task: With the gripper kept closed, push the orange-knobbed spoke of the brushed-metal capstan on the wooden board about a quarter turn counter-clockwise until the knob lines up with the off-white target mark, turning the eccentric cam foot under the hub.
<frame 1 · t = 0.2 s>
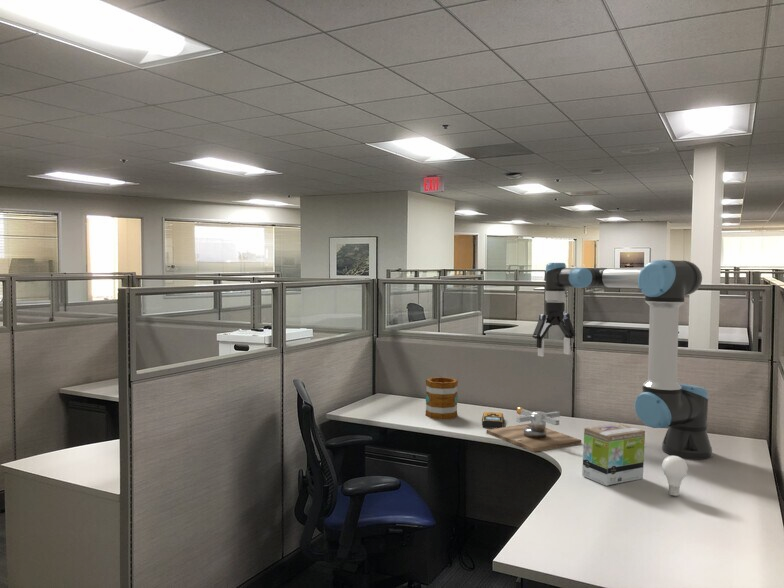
hand: (553, 355, 238), 28 cm above the table, fingers open, 13 cm apart
electronic device: (492, 424, 240), on the table
capstan: (536, 423, 217), point 6 cm above the table, hinge at 0.0°
lightbulb: (673, 496, 163), on the table
mug: (440, 414, 254), on the table
wooden board: (532, 438, 219), on the table
tea box: (612, 478, 177), on the table
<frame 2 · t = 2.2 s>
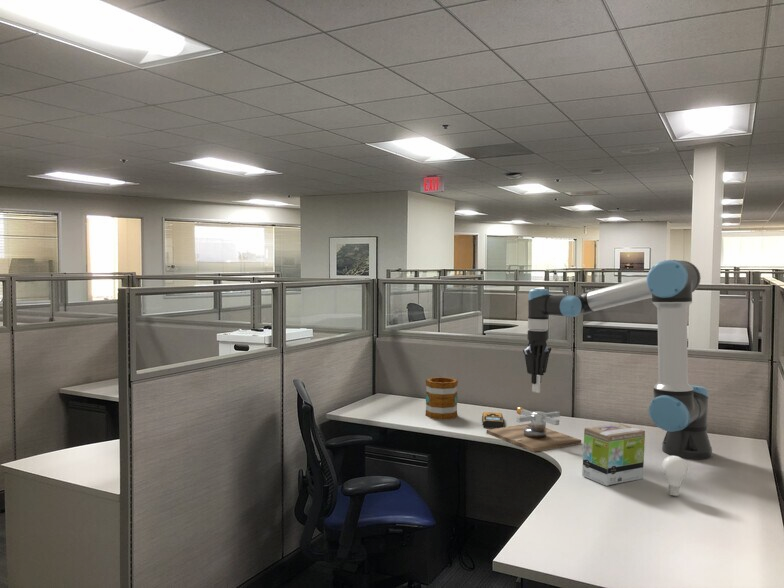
hand: (536, 391, 227), 15 cm above the table, fingers closed
nothing on the table moved.
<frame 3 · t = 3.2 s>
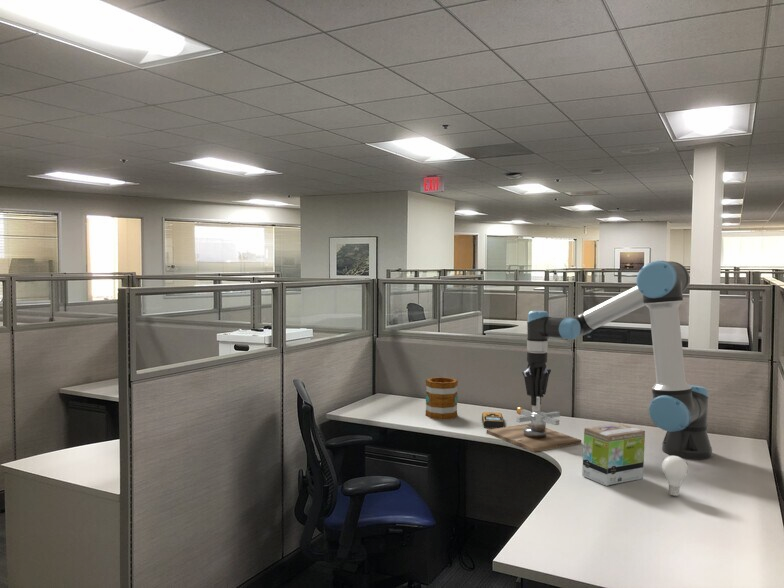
hand: (535, 413, 227), 7 cm above the table, fingers closed
nothing on the table moved.
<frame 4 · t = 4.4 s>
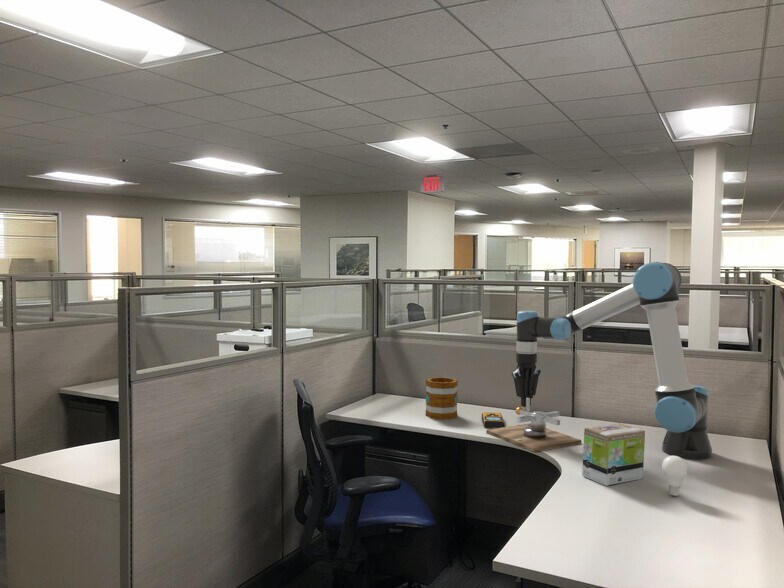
hand: (525, 414, 224), 7 cm above the table, fingers closed
capstan: (536, 423, 216), point 6 cm above the table, hinge at 2.6°, touching gripper
everything else where it was.
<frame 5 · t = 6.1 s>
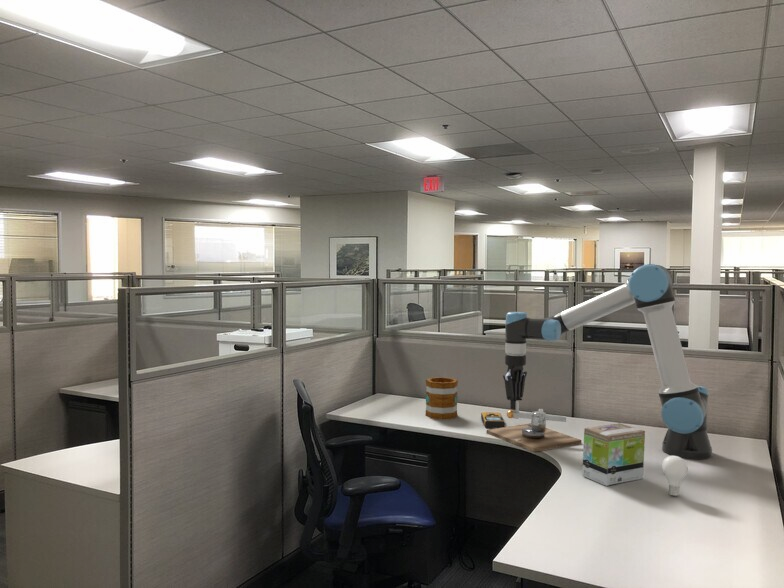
hand: (514, 417, 220), 7 cm above the table, fingers closed
capstan: (535, 424, 216), point 6 cm above the table, hinge at 42.7°, touching gripper
everything else where it was.
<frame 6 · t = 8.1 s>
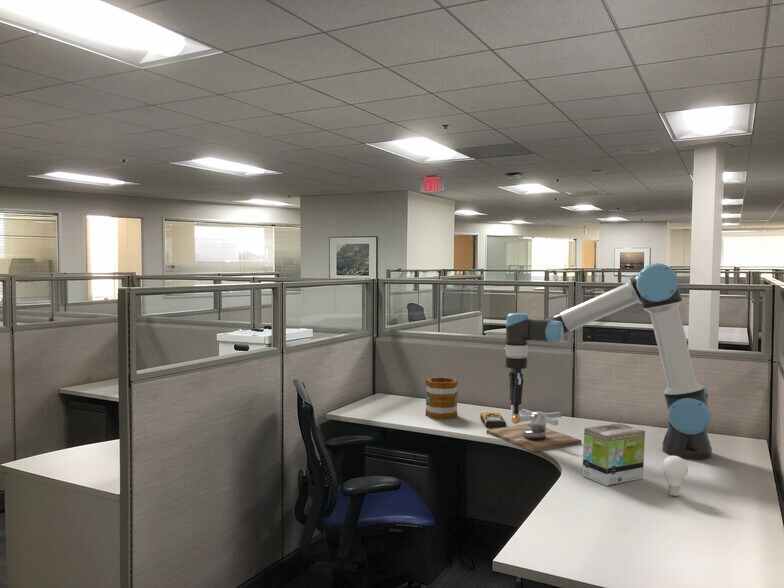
hand: (515, 422, 214), 7 cm above the table, fingers closed
capstan: (536, 424, 215), point 6 cm above the table, hinge at 86.5°, touching gripper
everything else where it was.
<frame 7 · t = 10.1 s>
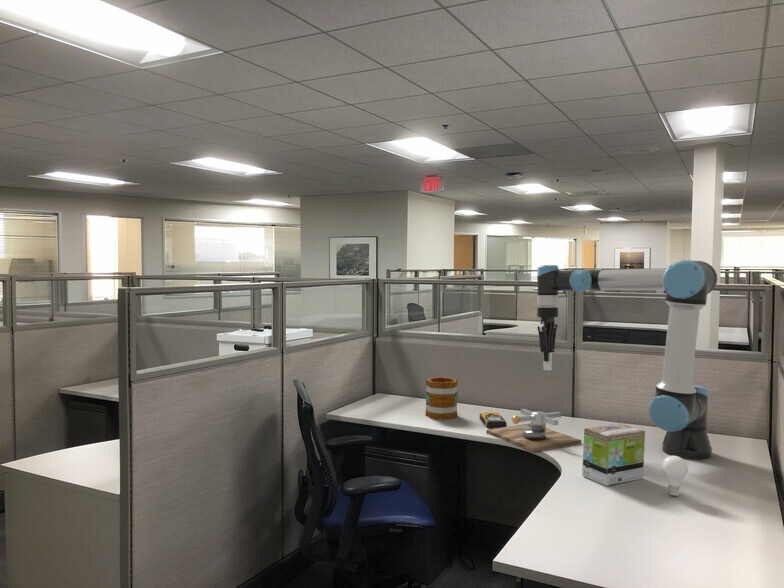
hand: (547, 369, 223), 24 cm above the table, fingers closed
capstan: (536, 424, 215), point 6 cm above the table, hinge at 86.5°
everything else where it was.
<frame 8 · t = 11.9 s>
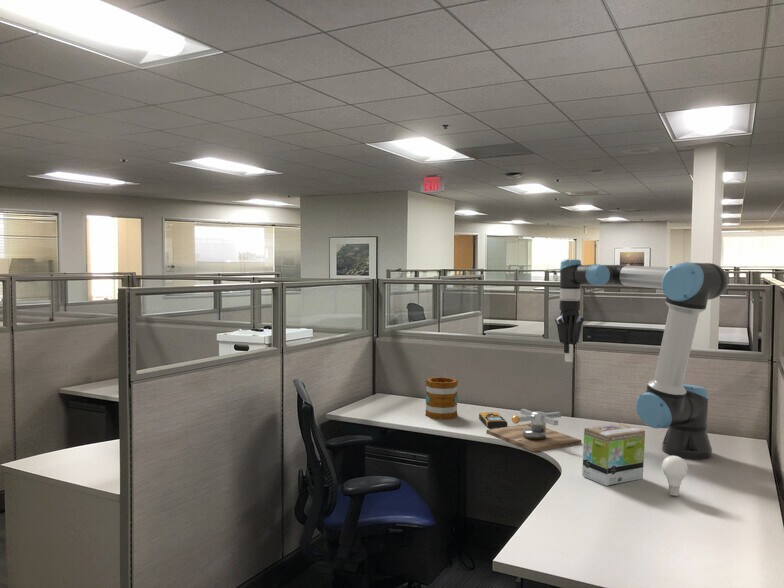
hand: (568, 361, 230), 26 cm above the table, fingers closed
at the end: capstan at +86° (first picture: +0°) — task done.
